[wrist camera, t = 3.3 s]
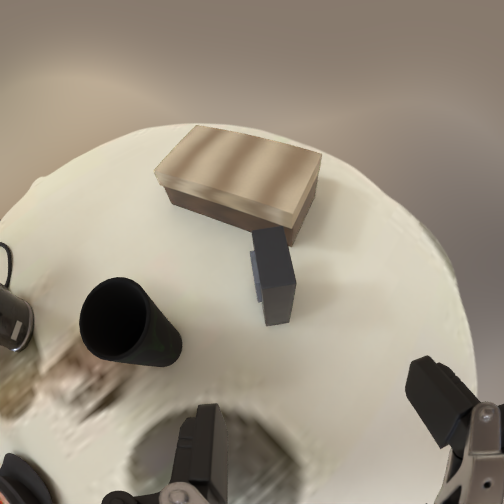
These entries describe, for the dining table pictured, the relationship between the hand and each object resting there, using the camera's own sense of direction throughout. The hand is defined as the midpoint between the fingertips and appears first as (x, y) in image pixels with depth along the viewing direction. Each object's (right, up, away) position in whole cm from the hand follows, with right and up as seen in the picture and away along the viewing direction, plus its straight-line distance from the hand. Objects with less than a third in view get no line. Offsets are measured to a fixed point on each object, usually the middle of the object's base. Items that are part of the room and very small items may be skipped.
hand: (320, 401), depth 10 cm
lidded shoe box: (-4, +14, +32) cm, 35 cm away
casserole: (-39, -38, +6) cm, 54 cm away
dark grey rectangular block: (0, 0, +24) cm, 24 cm away
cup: (-14, -6, +22) cm, 27 cm away
